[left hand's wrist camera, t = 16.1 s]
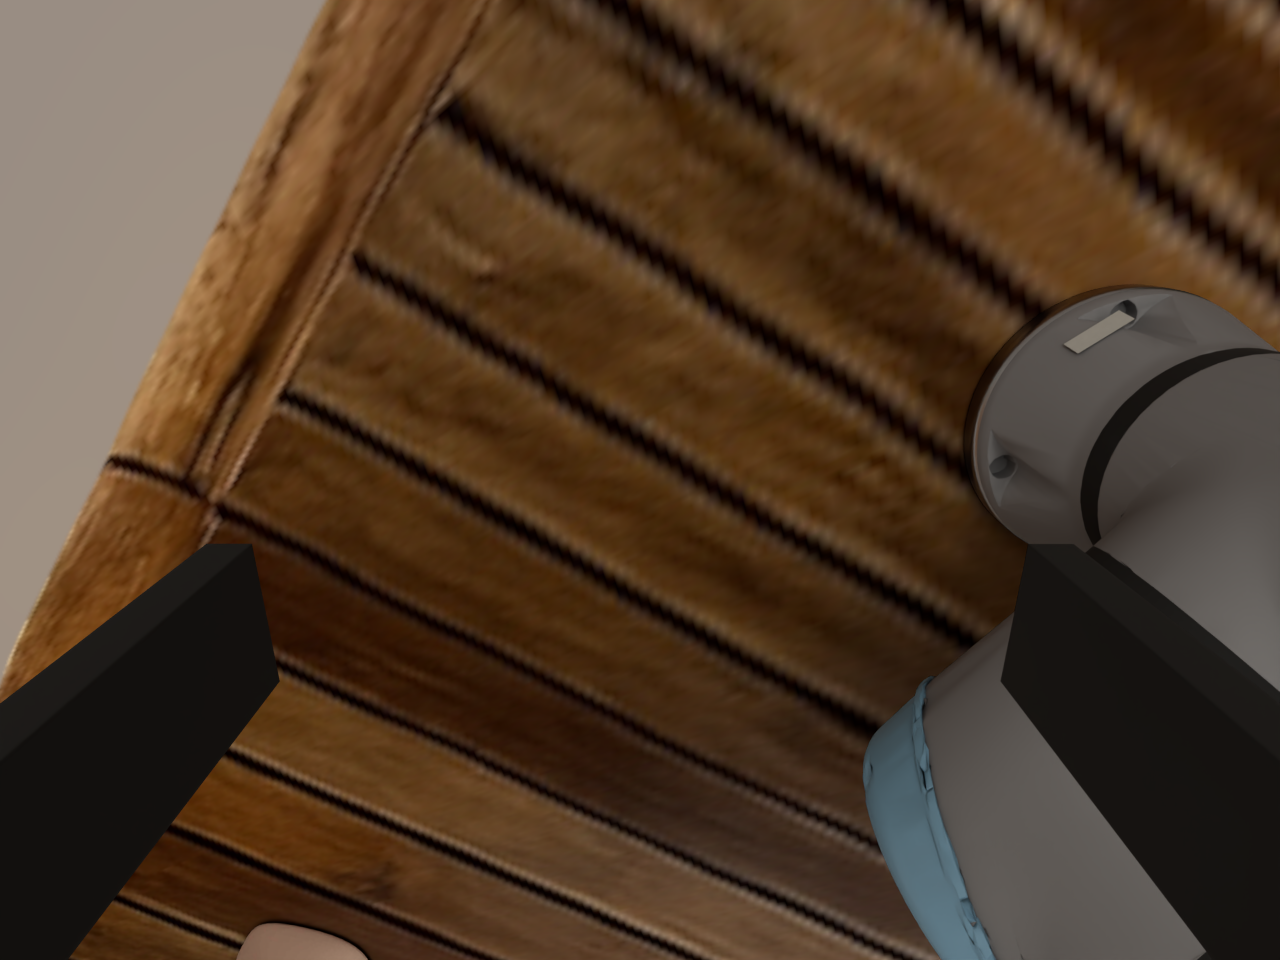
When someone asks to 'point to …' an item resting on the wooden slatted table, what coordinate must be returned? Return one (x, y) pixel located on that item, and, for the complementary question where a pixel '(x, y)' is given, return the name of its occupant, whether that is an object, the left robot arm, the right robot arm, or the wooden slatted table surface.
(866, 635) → the wooden slatted table surface
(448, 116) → the wooden slatted table surface
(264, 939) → the anatomical model
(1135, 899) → the left robot arm
